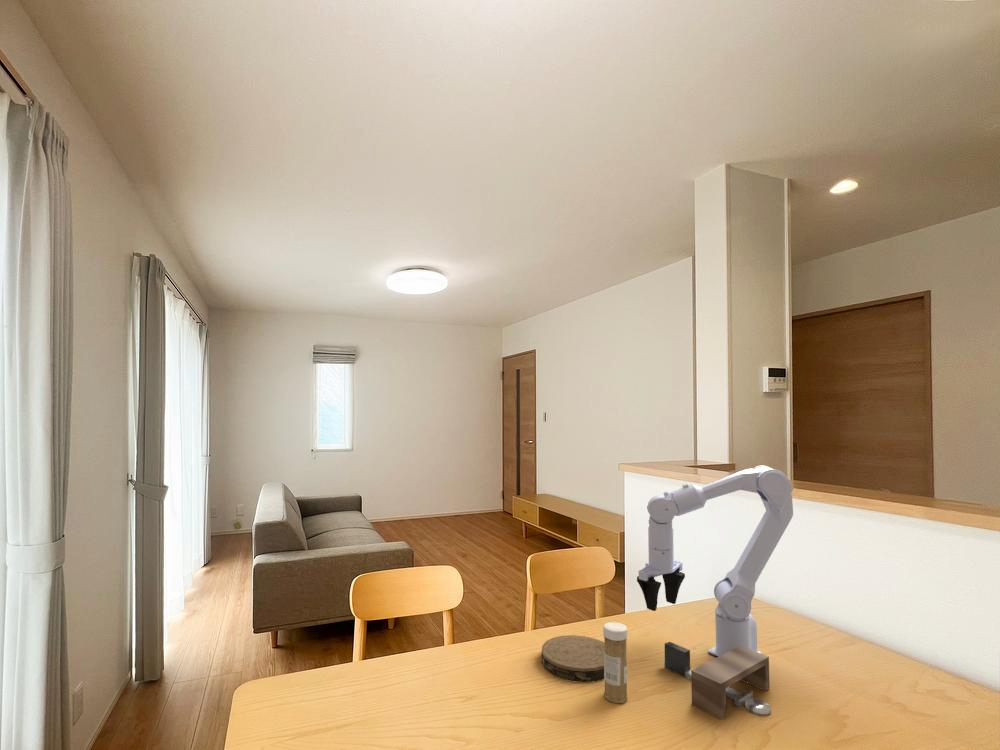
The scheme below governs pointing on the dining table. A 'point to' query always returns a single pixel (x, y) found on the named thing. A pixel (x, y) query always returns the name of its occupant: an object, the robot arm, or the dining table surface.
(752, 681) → the walnut shelf
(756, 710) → the steel token
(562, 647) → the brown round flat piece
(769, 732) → the dining table surface
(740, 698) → the blade tool
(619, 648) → the sprinkles bottle
